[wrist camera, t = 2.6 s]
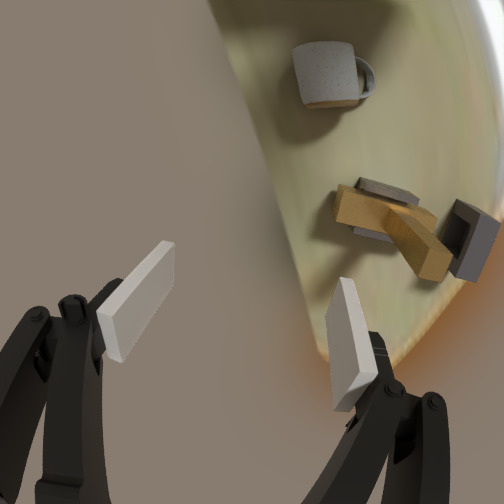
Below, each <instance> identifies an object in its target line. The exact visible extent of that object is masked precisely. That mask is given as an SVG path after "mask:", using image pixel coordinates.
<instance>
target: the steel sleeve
mask: <svg viewBox="0 0 504 504" xmlns="http://www.w3.org/2000/svg"><path fill="white" fill-rule="evenodd" d="M357 189H360V190H364V191H368V192H371V193H375V194H378V195H382V196H385V197H389V198H392V199H395V200H399V201H402V202H405V203H410V204H413V205H416V206H418V203H419V200H420V199H419V198H417V197H416V196H415V195H413V194H412V193H410V192H409V191H405V190H402V189H399V188H396V187H393V186H390V185H386V184H383V183H380V182H376V181H373V180H369V179H366V178H362V177H360V179H359V183H358V187H357ZM349 227H350V229H351V231H352V233H353V234H357V235H362V236H366V237H370V238H374V239H378V240H382V241H386V242H390V243H393V241H392V240H391V239H390V237H389V236H388V235H387V234H385V233H381V232H377V231H373V230H369V229H365V228H361V227H357V226H353V225H349Z"/></svg>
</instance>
